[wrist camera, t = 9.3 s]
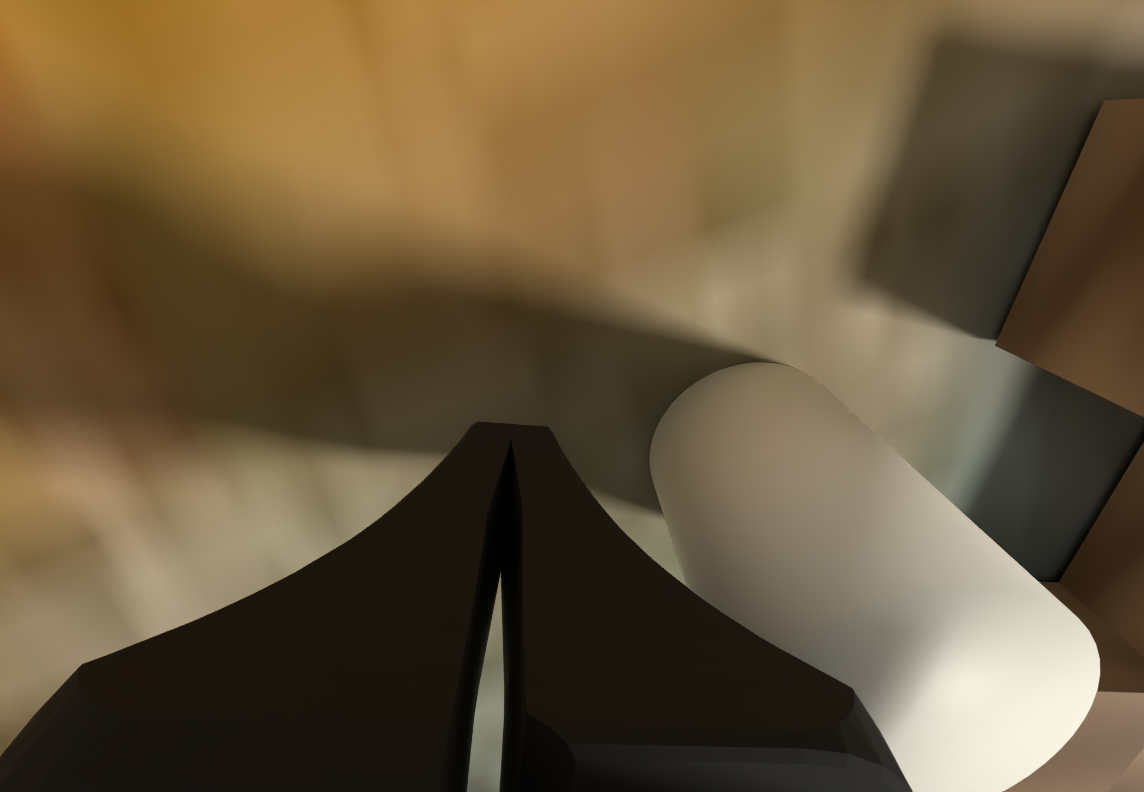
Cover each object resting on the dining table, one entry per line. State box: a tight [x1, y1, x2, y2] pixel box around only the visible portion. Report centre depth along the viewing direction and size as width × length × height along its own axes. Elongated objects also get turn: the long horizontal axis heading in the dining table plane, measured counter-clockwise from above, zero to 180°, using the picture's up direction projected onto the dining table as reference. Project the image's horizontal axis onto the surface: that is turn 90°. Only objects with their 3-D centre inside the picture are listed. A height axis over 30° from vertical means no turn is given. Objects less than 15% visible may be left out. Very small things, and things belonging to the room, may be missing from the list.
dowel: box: [649, 362, 1100, 792], centre depth 9 cm, size 4×4×6 cm
